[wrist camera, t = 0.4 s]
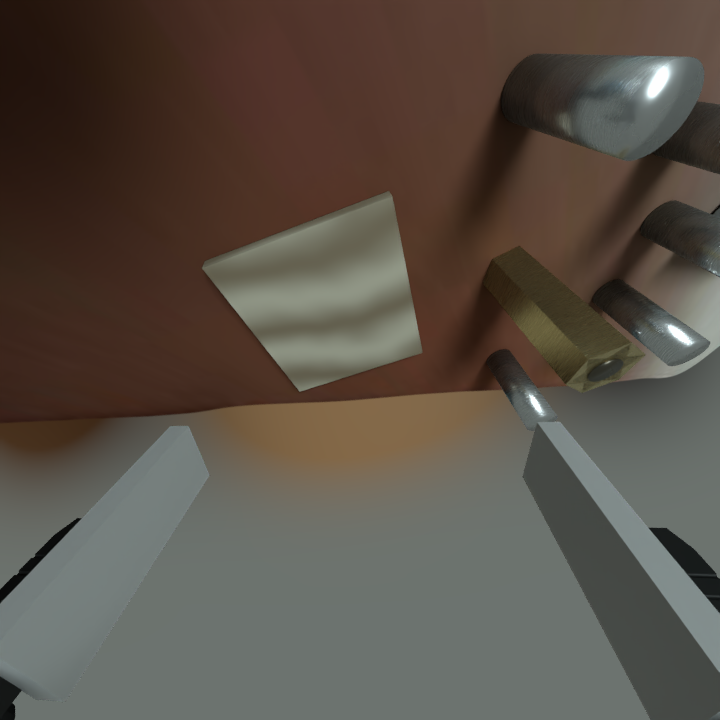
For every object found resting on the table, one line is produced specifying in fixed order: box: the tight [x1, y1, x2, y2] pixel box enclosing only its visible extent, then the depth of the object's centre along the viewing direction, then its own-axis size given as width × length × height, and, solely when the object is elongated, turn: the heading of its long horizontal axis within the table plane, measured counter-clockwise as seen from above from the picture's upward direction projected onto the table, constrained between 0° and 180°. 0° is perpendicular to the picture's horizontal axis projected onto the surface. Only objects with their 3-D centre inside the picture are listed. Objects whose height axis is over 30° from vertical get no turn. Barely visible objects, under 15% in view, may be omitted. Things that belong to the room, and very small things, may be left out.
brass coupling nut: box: [483, 246, 645, 393], centre depth 22 cm, size 4×5×12 cm
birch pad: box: [202, 191, 422, 391], centre depth 26 cm, size 16×14×1 cm
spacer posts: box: [486, 54, 720, 431], centre depth 23 cm, size 28×16×9 cm, turn 17°
